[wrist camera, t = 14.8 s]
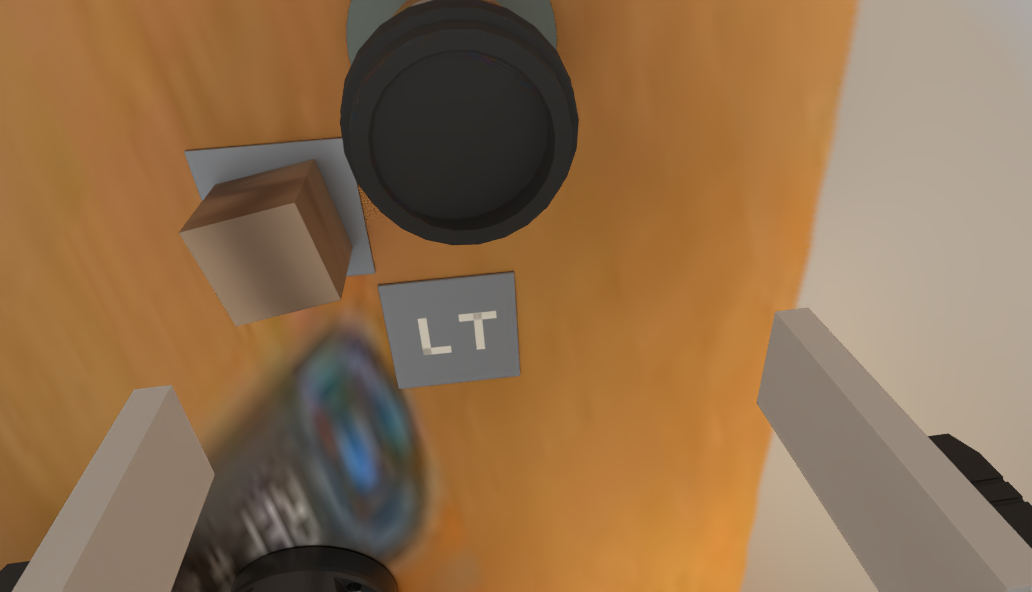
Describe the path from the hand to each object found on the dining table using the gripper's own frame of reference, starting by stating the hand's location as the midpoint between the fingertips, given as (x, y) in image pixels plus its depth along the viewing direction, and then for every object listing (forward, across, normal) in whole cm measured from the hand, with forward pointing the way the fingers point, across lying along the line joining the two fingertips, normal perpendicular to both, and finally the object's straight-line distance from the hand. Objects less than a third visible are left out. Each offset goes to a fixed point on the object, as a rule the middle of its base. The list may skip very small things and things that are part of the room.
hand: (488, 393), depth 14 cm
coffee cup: (+24, 0, +3) cm, 25 cm away
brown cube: (+25, -11, -6) cm, 28 cm away
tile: (+25, -2, -16) cm, 30 cm away
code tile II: (+25, -11, -6) cm, 28 cm away
